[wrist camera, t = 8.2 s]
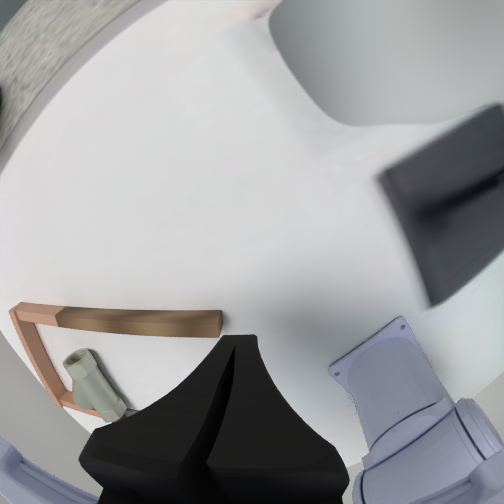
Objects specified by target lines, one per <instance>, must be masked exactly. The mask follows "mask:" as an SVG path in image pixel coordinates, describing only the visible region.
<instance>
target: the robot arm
mask: <svg viewBox="0 0 504 504" xmlns="http://www.w3.org/2000/svg"><path fill="white" fill-rule="evenodd" d="M402 325H403V326H402ZM401 326H402V327H401ZM328 371H329V373H330V374H331V375H332V376H333V377H334V378H335V379H336V380H337V381H338V382H339V383H340V384H341V385H342V386H343V387H344V388H345V389H346V390H347V391H348V392H349V393H350V394H351V395H352V397H353V400H354V403H355V406H356V409H357V412H358V416H359V419H360V422H361V425H362V429H363V432H364V435H365V439H366V442H367V445H368V449H369V453H368V454H367V455H366V456H364V457H363V458H362V461H363V465H364V470H362V471H361V472H360V473H358V475H357V476H356V478H355V481H354V485H353V492H352V499H353V504H504V443H503V441H502V439H501V438H500V436H499V434H498V432H497V431H496V429H495V428H494V426H493V425H492V423H491V422H490V420H489V419H488V417H487V416H486V414H485V413H484V412H483V410H482V409H481V408H480V407H479V406H478V404H477V403H476V402H475V401H474V400H473V399H464V398H462V399H460V400H459V401H458V402H457V403H454V401H453V400H452V398H451V397H450V395H449V394H448V392H447V391H446V389H445V388H444V386H443V385H442V383H441V382H440V380H439V379H438V377H437V376H436V374H435V373H434V371H433V370H432V368H431V366H430V364H429V362H428V360H427V358H426V356H425V354H424V352H423V351H422V349H421V347H420V345H419V343H418V341H417V340H416V338H415V336H414V334H413V332H412V331H411V329H410V327H409V325H408V324H407V322H406V320H405V319H404V318H403V317H398V318H397V319H395V320H394V321H393V322H392V323H390V324H389V325H388V326H386V327H385V328H384V329H383V330H381V331H380V332H379V333H377V334H376V335H375V336H373V337H372V338H371V339H369V340H368V341H366V342H365V343H364V344H362V345H361V346H359V347H358V348H357V349H355V350H354V351H352V352H351V353H349V354H348V355H346V356H345V357H343V358H342V359H340V360H339V361H337V362H336V363H334V364H333V365H331V366H330V367H329V368H328ZM336 372H338V373H336ZM78 460H79V462H80V464H81V466H82V467H83V469H84V470H85V471H86V472H87V473H88V474H89V475H90V476H91V477H92V478H94V480H96V481H97V482H98V483H99V484H100V485H101V486H102V487H103V491H102V493H101V495H100V497H97V496H95V495H92V494H90V493H88V492H85V491H83V490H81V489H79V488H77V487H75V486H73V485H71V484H69V483H67V482H65V481H63V480H61V479H59V478H57V477H56V476H54V475H52V474H50V473H48V472H47V471H45V470H43V469H41V468H40V467H38V466H37V465H35V464H33V463H32V462H30V461H29V460H27V459H26V458H24V457H23V456H22V454H21V453H20V452H19V451H18V450H17V449H16V448H15V447H14V446H13V445H12V444H10V443H9V442H8V441H7V440H5V439H4V438H3V437H1V436H0V494H1V495H2V496H3V497H4V498H5V499H7V500H8V501H9V502H10V503H11V504H343V502H342V495H343V493H344V492H345V490H346V488H347V486H348V485H349V481H350V479H349V475H348V472H347V469H346V467H345V464H344V462H343V460H342V458H341V456H340V455H339V453H338V451H337V450H336V448H335V447H334V446H333V445H332V444H330V443H329V442H328V441H326V440H325V439H324V438H322V437H321V436H320V435H319V434H318V433H316V432H315V431H314V430H313V429H312V428H311V427H310V426H309V425H308V424H306V423H305V422H304V421H303V419H302V418H301V417H300V416H299V415H298V414H297V413H296V412H295V411H294V410H293V409H292V408H291V406H290V405H289V404H288V403H287V401H286V400H285V399H284V397H283V396H282V395H281V393H280V392H279V390H278V389H277V387H276V386H275V384H274V382H273V381H272V379H271V377H270V375H269V373H268V371H267V369H266V367H265V365H264V362H263V360H262V358H261V355H260V352H259V349H258V341H257V336H255V335H254V334H253V335H223V336H222V337H221V339H220V340H219V341H218V343H217V344H216V345H215V346H214V348H213V349H212V350H211V351H210V353H209V354H208V355H207V356H206V357H205V359H204V360H203V361H202V362H201V363H200V364H199V365H198V367H197V368H196V369H195V370H194V371H193V372H192V373H191V374H190V375H189V376H188V377H187V378H186V379H185V380H184V381H182V382H181V383H180V384H179V385H178V386H177V387H176V388H174V389H173V390H172V391H171V392H169V393H168V394H167V395H165V396H164V397H162V398H161V399H159V400H157V401H156V402H154V403H153V404H151V405H150V406H148V407H146V408H145V409H143V410H141V411H139V412H137V413H135V414H133V415H131V416H129V417H126V418H124V419H122V420H119V421H117V422H114V423H111V424H108V425H106V426H103V427H100V428H96V429H95V430H94V431H93V433H92V434H91V436H90V438H89V440H88V441H87V443H86V445H85V447H84V449H83V451H82V452H81V454H80V456H79V459H78Z"/></svg>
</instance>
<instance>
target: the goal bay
mask: <svg viewBox="0 0 504 504" xmlns="http://www.w3.org/2000/svg"><path fill="white" fill-rule="evenodd" d="M64 307H66V306H54V305H43V304H33V303H23V302H20V303H19V304H18V305H16V306H15V307H13V308H12V309H10V310H9V314H10V316H11V319H12V322H13V324H14V327H15V329H16V331H17V334H18V336H19V338H20V340H21V343H22V345H23V347H24V349H25V351H26V353H27V355H28V357H29V359H30V361H31V363H32V365H33V367H34V369H35V371H36V373H37V374H38V376H39V378H40V380H41V381H42V383H43V385H44V387H45V388H46V390H47V392H48V393H49V395H50V396H51V398H52V399H53V401H54V403H55V404H56V405H57V406H59V407H63V406H66V407H69V408H71V409H74V410H77V411H80V412H84V413H87V414H90V415H93V416H97V417H100V418H102V417H101V416H100V415H99V414H98V412H97V411H96V410H95V408H94V409H91V410H84V409H81V408H80V407H78V406H77V405H76V404H75V402H74V400H73V394H72V392H70V391H67V390H66V389H65V388H64V386H63V384H62V382H61V380H60V379H59V377H58V375H57V373H56V371H55V369H54V367H53V365H52V363H51V361H50V359H49V357H48V355H47V353H46V351H45V349H44V347H43V344H42V342H41V340H40V338H39V335H38V333H37V331H36V328H35V326H34V323H38V324H44V325H50V326H57V327H58V324H57V321H56V319H55V315H56V314H57V313H58V312H59V311H61V310H62V309H63V308H64Z"/></svg>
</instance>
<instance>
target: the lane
mask: <svg viewBox="0 0 504 504" xmlns="http://www.w3.org/2000/svg"><path fill="white" fill-rule="evenodd" d="M55 319H56V321H57V324H58V327H64V328H71V329H79V330H87V331H96V332H106V333H116V334H129V335H144V336H163V337H200V338H219V336H220V333H221V329H222V325H223V320H222V313H221V310H202V311H159V310H119V309H97V308H80V307H64V308H63V309H62V310H61V311H59V312H58V313H57V314H56V315H55ZM137 412H139V411H136V410H131V409H126V411H125V413H124V414H123V416H122V417H121V418H120V419H118V420H116V421H113V422H112V423H114V422H117V421H119V420H122V419H124V418H126V417H129V416H131V415H133V414H135V413H137Z"/></svg>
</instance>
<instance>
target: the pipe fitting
mask: <svg viewBox="0 0 504 504" xmlns="http://www.w3.org/2000/svg"><path fill="white" fill-rule="evenodd" d="M62 364H63V365H64V367H65V369H66V371H67V372H68V374H69V375H70V376H71V378H72V379H73V387H72V394H73V400H74V402H75V404H76V405H77V406H78V407H80V408H81V409H84V410H91V409H94V408H95V410H96V411H97V412H98V414H99V415H100V416H101V417H102V419H103V420H104V421H105V422H113V421H116V420H118V419H120V418H121V417H122V416H123V414H124V413H125V411H126V408H127V406H126V405H125V404H124V402H123V401H122V400H121V398H120V397H119V396H118V395H117V394H116V393H115V392H114V390H113V389H112V387H111V386H110V385H109V383H108V382H107V380H106V379H105V377H104V376H103V374H102V373H101V371H100V370H99V368H98V367H97V363H96V361H95V360H94V358H93V356H92V355H91V353H90V352H89V351H88V350H87V349H79V350H77V351H75V352H73V353H71V354H70V355H69V356H67V357H66V359H65V360H64V362H63V363H62Z"/></svg>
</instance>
